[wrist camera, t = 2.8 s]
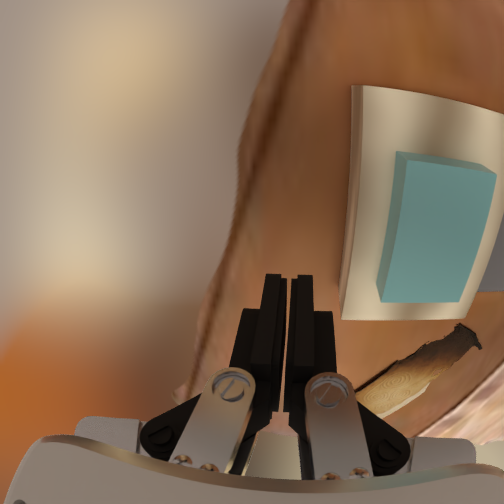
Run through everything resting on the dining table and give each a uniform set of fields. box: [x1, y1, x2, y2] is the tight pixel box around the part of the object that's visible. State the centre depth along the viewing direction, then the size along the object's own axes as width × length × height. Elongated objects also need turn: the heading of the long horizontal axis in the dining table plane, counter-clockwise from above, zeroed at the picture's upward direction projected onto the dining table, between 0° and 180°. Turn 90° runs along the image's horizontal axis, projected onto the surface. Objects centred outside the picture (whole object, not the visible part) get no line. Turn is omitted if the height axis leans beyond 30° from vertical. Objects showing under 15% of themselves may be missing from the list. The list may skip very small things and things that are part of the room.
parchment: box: [355, 323, 482, 419], centre depth 31 cm, size 25×10×1 cm, turn 153°
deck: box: [338, 85, 504, 320], centre depth 18 cm, size 11×16×4 cm
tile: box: [376, 151, 497, 303], centre depth 15 cm, size 6×9×2 cm, turn 4°
